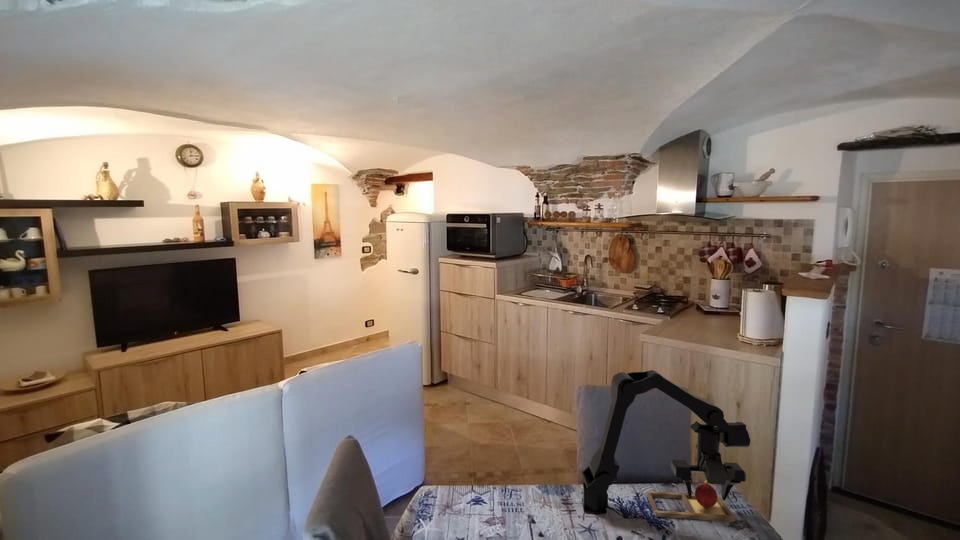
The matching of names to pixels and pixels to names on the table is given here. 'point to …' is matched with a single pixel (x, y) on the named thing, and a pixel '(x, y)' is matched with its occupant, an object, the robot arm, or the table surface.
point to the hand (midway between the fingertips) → (706, 498)
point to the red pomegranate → (706, 495)
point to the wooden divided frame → (692, 508)
